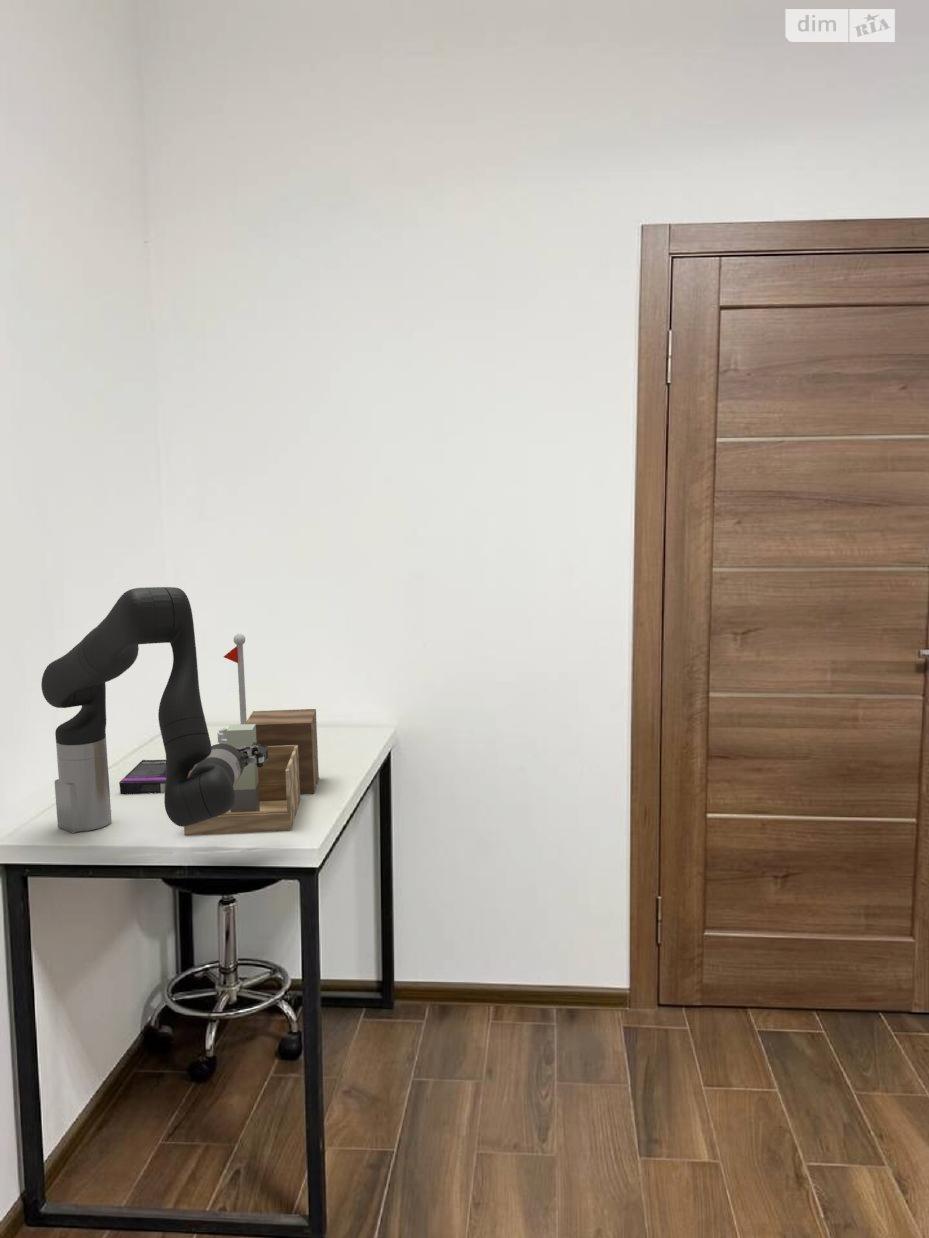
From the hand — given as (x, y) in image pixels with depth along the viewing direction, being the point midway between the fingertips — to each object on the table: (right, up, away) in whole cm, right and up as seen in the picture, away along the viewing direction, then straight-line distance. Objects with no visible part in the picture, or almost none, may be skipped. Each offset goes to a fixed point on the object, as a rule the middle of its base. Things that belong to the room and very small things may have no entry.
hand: (232, 748), depth 190 cm
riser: (+4, -13, +34) cm, 37 cm away
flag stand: (-12, -10, +68) cm, 69 cm away
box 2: (-1, -15, +14) cm, 21 cm away
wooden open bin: (-1, -16, +14) cm, 21 cm away
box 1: (-25, -14, +42) cm, 51 cm away
